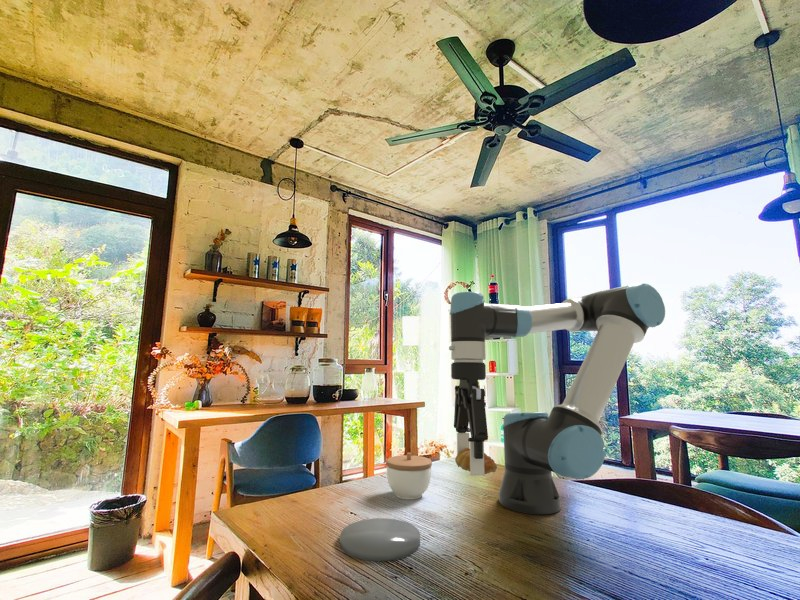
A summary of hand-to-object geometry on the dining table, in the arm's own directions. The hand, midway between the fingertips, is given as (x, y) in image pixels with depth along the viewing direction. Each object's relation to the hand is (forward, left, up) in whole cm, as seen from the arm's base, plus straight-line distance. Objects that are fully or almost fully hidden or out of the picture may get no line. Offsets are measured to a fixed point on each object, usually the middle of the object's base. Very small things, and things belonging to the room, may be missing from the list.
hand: (470, 468), depth 83 cm
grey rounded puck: (0, -19, -13) cm, 23 cm away
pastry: (0, +2, 0) cm, 2 cm away
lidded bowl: (-28, -9, -14) cm, 32 cm away
